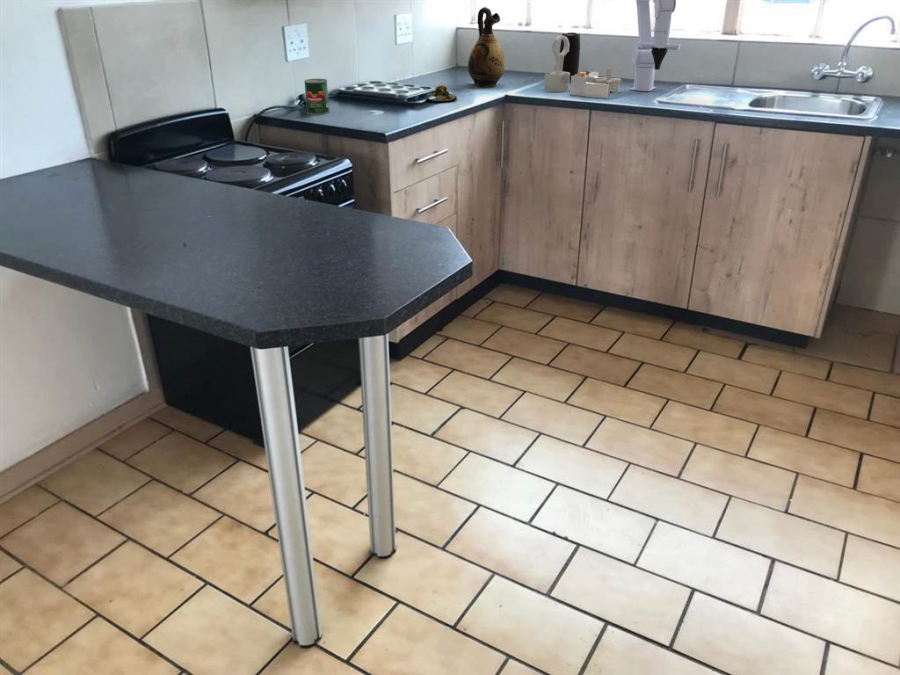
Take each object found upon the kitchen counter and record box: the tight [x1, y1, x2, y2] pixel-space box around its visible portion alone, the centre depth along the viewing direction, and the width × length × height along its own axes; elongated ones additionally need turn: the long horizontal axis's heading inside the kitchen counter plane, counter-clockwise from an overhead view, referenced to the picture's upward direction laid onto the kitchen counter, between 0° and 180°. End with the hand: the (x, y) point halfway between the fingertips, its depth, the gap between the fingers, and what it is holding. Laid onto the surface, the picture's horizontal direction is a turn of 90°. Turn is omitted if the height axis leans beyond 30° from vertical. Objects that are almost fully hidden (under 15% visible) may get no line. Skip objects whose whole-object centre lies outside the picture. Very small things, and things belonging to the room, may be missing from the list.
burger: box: [427, 83, 458, 102], centre depth 283 cm, size 12×12×8 cm
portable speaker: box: [559, 32, 581, 81], centre depth 319 cm, size 8×9×19 cm
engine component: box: [543, 34, 571, 93], centre depth 299 cm, size 11×20×10 cm
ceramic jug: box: [467, 6, 506, 88], centre depth 307 cm, size 17×15×30 cm
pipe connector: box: [595, 67, 623, 96], centre depth 290 cm, size 10×10×10 cm
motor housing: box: [569, 68, 621, 99], centre depth 294 cm, size 16×15×8 cm
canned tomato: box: [303, 78, 330, 116], centre depth 263 cm, size 8×8×11 cm
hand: (657, 69), depth 285 cm, fingers closed
